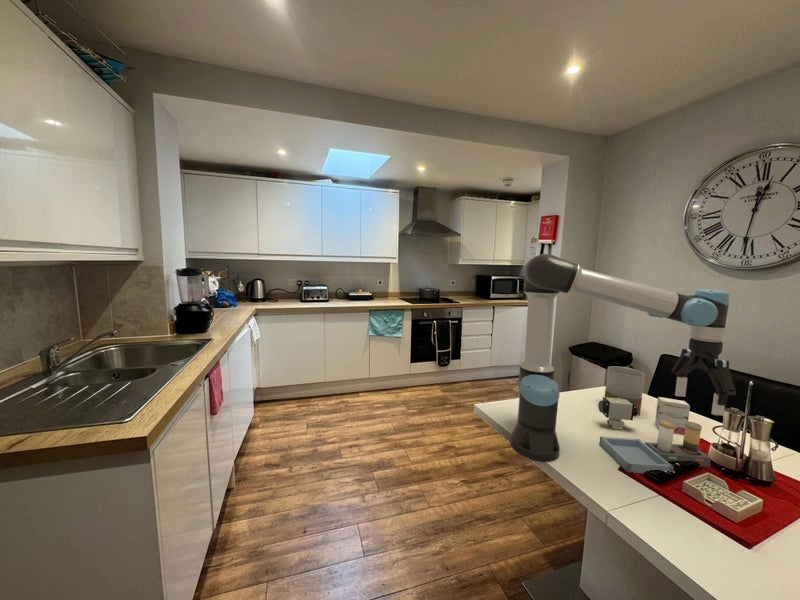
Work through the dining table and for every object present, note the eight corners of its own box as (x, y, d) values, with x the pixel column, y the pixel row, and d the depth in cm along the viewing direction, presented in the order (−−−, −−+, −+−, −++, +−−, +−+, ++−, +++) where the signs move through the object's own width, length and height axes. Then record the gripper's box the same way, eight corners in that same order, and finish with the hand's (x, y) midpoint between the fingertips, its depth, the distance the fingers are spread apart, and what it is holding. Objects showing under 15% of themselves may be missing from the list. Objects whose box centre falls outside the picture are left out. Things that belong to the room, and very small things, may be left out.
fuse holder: (660, 464, 99) (661, 455, 99) (643, 450, 106) (645, 442, 106) (710, 467, 98) (712, 458, 98) (690, 453, 105) (692, 445, 105)
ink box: (681, 429, 122) (685, 400, 121) (686, 435, 117) (691, 405, 116) (653, 424, 125) (657, 395, 124) (657, 429, 121) (661, 400, 120)
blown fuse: (687, 462, 100) (692, 427, 99) (677, 455, 104) (682, 421, 103) (699, 463, 100) (705, 427, 99) (689, 456, 104) (694, 421, 103)
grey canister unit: (604, 401, 146) (608, 364, 144) (639, 409, 138) (644, 370, 136) (602, 411, 135) (607, 371, 133) (640, 420, 128) (645, 378, 126)
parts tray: (627, 472, 94) (628, 463, 94) (599, 444, 109) (600, 436, 109) (672, 475, 94) (673, 466, 93) (638, 447, 108) (639, 439, 108)
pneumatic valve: (635, 433, 118) (639, 402, 117) (601, 428, 120) (604, 398, 119) (627, 425, 123) (631, 396, 122) (595, 421, 126) (598, 392, 124)
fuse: (660, 460, 101) (665, 425, 100) (652, 453, 105) (656, 419, 103) (673, 461, 101) (678, 426, 99) (664, 454, 104) (669, 420, 103)
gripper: (762, 350, 85) (750, 424, 87) (685, 331, 110) (678, 390, 112) (732, 349, 86) (721, 423, 88) (663, 330, 110) (656, 388, 113)
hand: (697, 404), depth 100 cm, fingers open, 13 cm apart
